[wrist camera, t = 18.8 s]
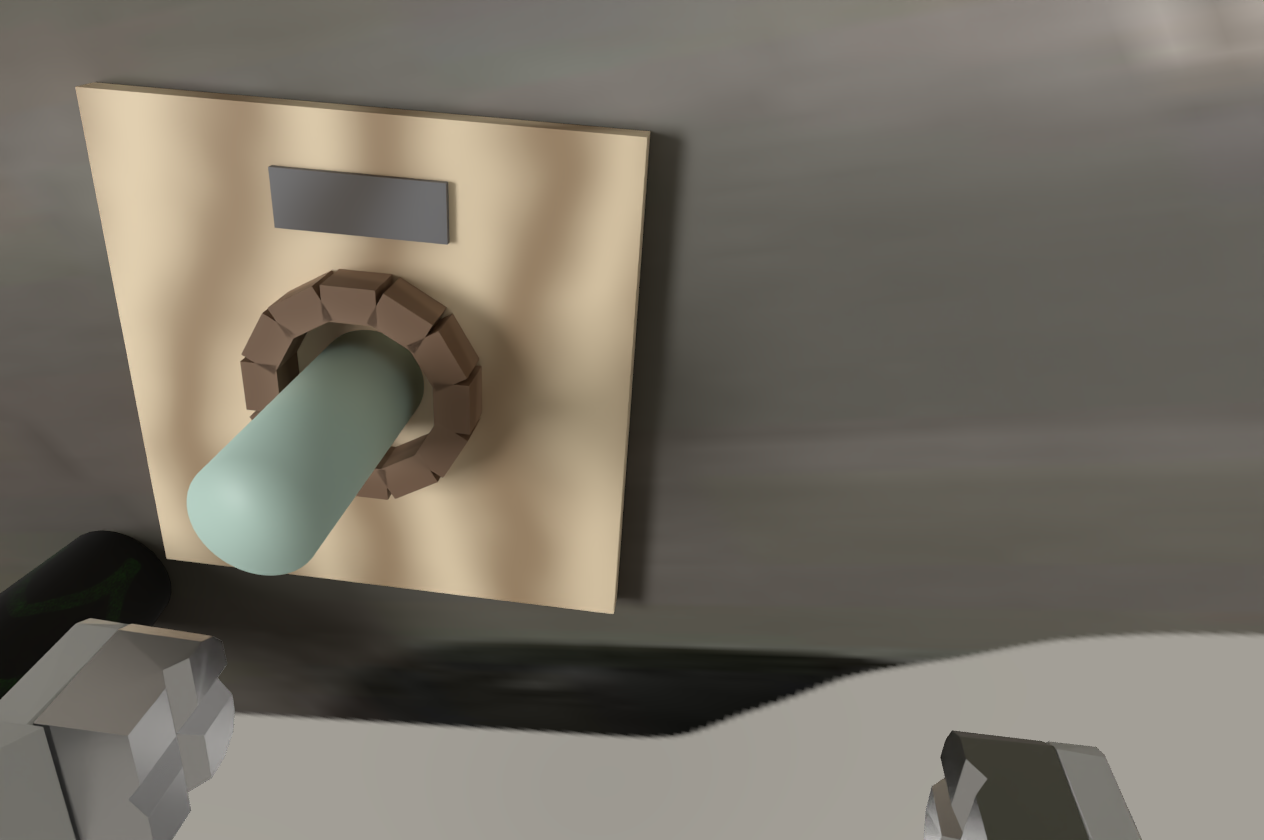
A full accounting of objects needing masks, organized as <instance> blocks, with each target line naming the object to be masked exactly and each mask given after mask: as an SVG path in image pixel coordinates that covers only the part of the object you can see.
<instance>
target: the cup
mask: <svg viewBox="0 0 1264 840" xmlns="http://www.w3.org/2000/svg"><path fill="white" fill-rule="evenodd" d="M170 595H171V583H170V580H169V576H168V573H167V571H166V570H165V568H164V566H163V564H162V563H161V561H160V560H159V559H158V558H157V557H156V556H155V555H154V554H153V552H152V551H150V550H149V549H148V548H146V547H145V546H144V545H143V544H141V543H139V542H138V541H136V540H134V539H132V538H130V537H128V536H125V535H122V534H119V533H116V532H108V531H95V532H89V533H86V534H84V535H81V536H79V537H78V538H77V539H75V540H74V541H72V542H71V543H70V544H68V545H67V546H66V547H64V548H63V549H61V550H60V551H59V552H57V553H56V554H54V555H53V556H52V557H50V558H49V559H47V560H46V561H45V562H43V563H42V564H41V565H39V566H38V567H36V568H35V569H34V570H32V571H31V572H29V573H28V574H27V575H25V576H24V577H23V578H21V579H20V580H18V581H17V582H16V583H14V584H13V585H11V586H10V587H9V588H7V589H6V590H4V591H3V592H2V593H0V700H1V698H2V697H3V696H4V695H5V694H6V693H7V692H8V691H9V690H10V689H11V688H12V687H13V686H14V685H15V684H16V683H17V682H18V681H19V680H20V679H21V678H22V677H23V676H24V675H25V674H26V673H27V672H28V671H29V670H30V669H31V668H32V667H33V666H34V665H35V664H36V663H37V662H38V661H39V660H40V659H41V658H42V657H43V656H44V655H45V654H46V653H47V652H48V651H49V650H50V649H51V648H52V647H53V646H54V645H55V644H56V643H57V642H58V641H59V640H60V639H61V638H62V637H63V636H64V635H65V634H66V633H67V632H68V631H69V630H70V629H71V628H72V627H73V626H74V625H75V624H76V623H79V622H81V621H84V620H86V619H89V618H93V619H99V620H105V621H111V622H117V623H123V624H129V625H130V624H137V625H144V626H150V627H152V626H153V624H154V623H155V621H156V620H157V618H158V617H159V615H160V614H161V613H162V611H163V610H164V608H165V607H166V605H167V604H168V602H169V599H170Z"/></svg>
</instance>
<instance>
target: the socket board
mask: <svg viewBox="0 0 1264 840" xmlns="http://www.w3.org/2000/svg"><path fill="white" fill-rule="evenodd" d="M75 88H76V93H77V98H78V103H79V109H80V114H81V119H82V124H83V129H84V134H85V140H86V145H87V150H88V155H89V160H90V165H91V171H92V176H93V181H94V186H95V191H96V197H97V202H98V207H99V212H100V217H101V222H102V228H103V233H104V238H105V243H106V248H107V253H108V259H109V264H110V269H111V274H112V279H113V284H114V290H115V295H116V300H117V305H118V310H119V315H120V321H121V326H122V331H123V336H124V341H125V347H126V352H127V357H128V362H129V367H130V372H131V378H132V383H133V388H134V393H135V398H136V403H137V409H138V414H139V419H140V424H141V429H142V434H143V440H144V445H145V450H146V455H147V460H148V465H149V471H150V476H151V481H152V486H153V491H154V497H155V502H156V507H157V512H158V517H159V522H160V528H161V533H162V538H163V543H164V548H165V553H166V559H172V560H180V561H189V562H197V563H205V564H213V565H221V566H229V567H234V566H232V565H230V564H228V563H226V562H225V561H223V560H222V559H220V558H219V557H217V556H216V555H215V554H214V553H213V552H211V551H210V550H209V549H208V548H207V547H206V546H205V544H204V543H203V542H202V541H201V540H200V538H199V537H198V535H197V534H196V532H195V530H194V529H193V526H192V524H191V522H190V519H189V516H188V511H187V493H188V489H189V486H190V484H191V482H192V480H193V479H194V477H195V476H196V475H197V474H198V472H199V471H201V470H202V469H203V468H204V467H205V466H206V465H207V464H208V463H209V462H210V461H211V460H212V459H213V458H214V457H215V456H216V455H217V454H218V453H219V452H220V451H221V450H222V449H223V448H224V447H225V446H226V445H227V444H228V443H229V442H230V441H231V440H232V439H233V438H234V437H235V436H236V435H237V434H238V433H239V432H240V431H241V430H243V429H244V428H245V427H246V426H247V425H248V424H249V423H250V422H251V421H252V420H253V419H254V418H255V417H256V416H257V415H258V414H259V413H260V412H261V411H262V410H263V409H264V408H265V407H266V406H267V405H268V404H269V403H270V402H271V401H272V400H273V399H274V398H275V397H276V396H277V395H278V394H279V393H280V392H281V391H282V390H283V389H285V388H286V387H287V386H288V385H289V384H290V383H291V382H292V381H293V380H294V379H295V378H296V377H297V376H298V375H299V374H300V373H301V372H302V371H303V370H304V369H305V368H306V367H307V366H308V365H309V364H310V363H311V362H312V361H313V360H314V359H315V358H316V357H317V356H318V355H319V354H320V353H321V352H322V351H323V350H324V349H325V348H327V347H328V346H329V345H330V344H331V343H332V342H333V341H334V340H335V339H336V338H338V337H339V336H341V335H343V334H345V333H347V332H351V331H355V330H372V331H377V332H381V333H383V334H384V335H386V336H388V337H389V338H391V339H392V340H394V341H395V342H397V343H399V344H400V345H402V346H403V347H405V348H406V349H408V350H409V351H410V352H411V353H412V355H413V356H414V358H415V360H416V361H417V363H418V365H419V367H420V369H421V372H422V375H423V380H424V392H423V397H422V400H421V403H420V405H419V407H418V408H417V410H416V411H415V412H414V414H413V415H412V417H411V418H410V420H409V421H408V422H407V424H406V425H405V427H404V428H403V430H402V431H401V432H400V434H399V435H398V437H397V438H396V439H395V441H394V442H393V444H392V445H391V447H390V448H389V449H388V451H387V452H386V454H385V455H384V457H383V458H382V459H381V461H380V462H379V464H378V465H377V467H376V468H375V469H374V471H373V472H372V474H371V475H370V476H369V478H368V479H367V481H366V482H365V484H364V485H363V486H362V488H361V489H360V491H359V492H358V494H357V495H356V496H355V498H354V499H353V501H352V502H351V503H350V505H349V506H348V508H347V509H346V511H345V512H344V513H343V515H342V516H341V518H340V519H339V521H338V522H337V523H336V525H335V526H334V528H333V529H332V530H331V532H330V533H329V535H328V536H327V538H326V539H325V540H324V542H323V543H322V545H321V546H320V548H319V549H318V550H317V552H316V553H315V555H314V556H313V558H312V559H311V560H310V561H309V562H308V563H307V564H305V565H304V566H303V567H301V568H299V569H298V570H296V571H293V572H290V573H287V574H294V575H302V576H310V577H318V578H326V579H334V580H342V581H350V582H358V583H367V584H375V585H383V586H391V587H399V588H407V589H415V590H423V591H431V592H439V593H447V594H456V595H464V596H472V597H480V598H488V599H496V600H504V601H512V602H520V603H528V604H536V605H545V606H553V607H561V608H569V609H577V610H585V611H593V612H601V613H609V614H614V610H615V605H616V600H617V590H618V576H619V562H620V548H621V534H622V520H623V506H624V492H625V478H626V464H627V450H628V436H629V422H630V408H631V394H632V380H633V366H634V353H635V339H636V325H637V311H638V297H639V283H640V269H641V255H642V241H643V227H644V213H645V199H646V185H647V171H648V157H649V143H650V131H641V130H630V129H618V128H607V127H596V126H584V125H573V124H562V123H550V122H539V121H527V120H516V119H505V118H493V117H482V116H471V115H459V114H448V113H437V112H425V111H414V110H403V109H391V108H380V107H369V106H357V105H346V104H334V103H323V102H312V101H300V100H289V99H278V98H266V97H255V96H244V95H232V94H221V93H210V92H198V91H187V90H176V89H164V88H153V87H141V86H130V85H119V84H107V83H96V82H94V83H89V84H85V85H81V86H76V87H75Z"/></svg>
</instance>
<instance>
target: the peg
mask: <svg viewBox="0 0 1264 840" xmlns="http://www.w3.org/2000/svg"><path fill="white" fill-rule="evenodd" d="M423 392H424V380H423V375H422V372H421V369H420V367H419V365H418V363H417V361H416V360H415V358H414V356H413V355H412V353H411V352H410V351H409V350H408V349H406V348H405V347H403V346H402V345H400V344H399V343H397V342H395V341H394V340H392V339H391V338H389V337H388V336H386V335H384V334H383V333H381V332H377V331H372V330H355V331H351V332H347V333H345V334H343V335H341V336H339V337H338V338H336V339H335V340H334V341H333V342H332V343H331V344H330V345H329V346H328V347H327V348H325V349H324V350H323V351H322V352H321V353H320V354H319V355H318V356H317V357H316V358H315V359H314V360H313V361H312V362H311V363H310V364H309V365H308V366H307V367H306V368H305V369H304V370H303V371H302V372H301V373H300V374H299V375H298V376H297V377H296V378H295V379H294V380H293V381H292V382H291V383H290V384H289V385H288V386H287V387H286V388H285V389H283V390H282V391H281V392H280V393H279V394H278V395H277V396H276V397H275V398H274V399H273V400H272V401H271V402H270V403H269V404H268V405H267V406H266V407H265V408H264V409H263V410H262V411H261V412H260V413H259V414H258V415H257V416H256V417H255V418H254V419H253V420H252V421H251V422H250V423H249V424H248V425H247V426H246V427H245V428H244V429H243V430H241V431H240V432H239V433H238V434H237V435H236V436H235V437H234V438H233V439H232V440H231V441H230V442H229V443H228V444H227V445H226V446H225V447H224V448H223V449H222V450H221V451H220V452H219V453H218V454H217V455H216V456H215V457H214V458H213V459H212V460H211V461H210V462H209V463H208V464H207V465H206V466H205V467H204V468H203V469H202V470H201V471H199V472H198V474H197V475H196V476H195V477H194V479H193V480H192V482H191V484H190V486H189V489H188V493H187V511H188V516H189V519H190V522H191V524H192V526H193V529H194V530H195V532H196V534H197V535H198V537H199V538H200V540H201V541H202V542H203V543H204V544H205V546H206V547H207V548H208V549H209V550H210V551H211V552H213V553H214V554H215V555H216V556H217V557H219V558H220V559H222V560H223V561H225V562H226V563H228V564H230V565H232V566H234V567H236V568H238V569H240V570H243V571H246V572H249V573H254V574H259V575H272V576H273V575H282V574H287V573H290V572H293V571H296V570H298V569H299V568H301V567H303V566H304V565H305V564H307V563H308V562H309V561H310V560H311V559H312V558H313V556H314V555H315V553H316V552H317V550H318V549H319V548H320V546H321V545H322V543H323V542H324V540H325V539H326V538H327V536H328V535H329V533H330V532H331V530H332V529H333V528H334V526H335V525H336V523H337V522H338V521H339V519H340V518H341V516H342V515H343V513H344V512H345V511H346V509H347V508H348V506H349V505H350V503H351V502H352V501H353V499H354V498H355V496H356V495H357V494H358V492H359V491H360V489H361V488H362V486H363V485H364V484H365V482H366V481H367V479H368V478H369V476H370V475H371V474H372V472H373V471H374V469H375V468H376V467H377V465H378V464H379V462H380V461H381V459H382V458H383V457H384V455H385V454H386V452H387V451H388V449H389V448H390V447H391V445H392V444H393V442H394V441H395V439H396V438H397V437H398V435H399V434H400V432H401V431H402V430H403V428H404V427H405V425H406V424H407V422H408V421H409V420H410V418H411V417H412V415H413V414H414V412H415V411H416V410H417V408H418V407H419V405H420V403H421V400H422V397H423Z"/></svg>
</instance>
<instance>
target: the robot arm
mask: <svg viewBox="0 0 1264 840" xmlns="http://www.w3.org/2000/svg"><path fill="white" fill-rule="evenodd" d="M226 665H227V661H226V656H225V652H224V647H223V642H222V641H221V640H219V639H217V638H215V637H213V636H209V635H202V634H196V633H189V632H183V631H176V630H170V629H163V628H157V627H150V626H144V625H137V624H130V625H129V624H123V623H117V622H111V621H105V620H99V619H93V618H89V619H86V620H84V621H81V622H79V623H76V624H75V625H74V626H73V627H72V628H71V629H70V630H69V631H68V632H67V633H66V634H65V635H64V636H63V637H62V638H61V639H60V640H59V641H58V642H57V643H56V644H55V645H54V646H53V647H52V648H51V649H50V650H49V651H48V652H47V653H46V654H45V655H44V656H43V657H42V658H41V659H40V660H39V661H38V662H37V663H36V664H35V665H34V666H33V667H32V668H31V669H30V670H29V671H28V672H27V673H26V674H25V675H24V676H23V677H22V678H21V679H20V680H19V681H18V682H17V683H16V684H15V685H14V686H13V687H12V688H11V689H10V690H9V691H8V692H7V693H6V694H5V695H4V696H3V697H2V698H1V700H0V840H172V839H173V838H174V836H175V835H176V833H177V831H178V830H179V828H180V827H181V825H182V823H183V822H184V821H185V819H186V818H187V816H188V814H189V813H190V811H191V807H190V802H189V796H188V792H189V791H191V790H193V789H194V788H196V787H198V786H199V785H201V784H202V783H204V782H206V781H207V780H209V779H211V778H212V777H213V775H214V773H215V772H216V770H217V769H218V767H219V765H220V764H221V762H222V760H223V759H224V757H225V754H226V751H227V748H228V745H229V742H230V739H231V736H232V733H233V727H234V714H235V709H234V703H233V696H232V693H231V692H230V691H229V690H228V689H227V688H226V687H225V686H224V685H223V683H222V682H221V681H220V680H219V679H218V676H219V675H220V673H221V672H222V671H223V669H224V668H225V666H226ZM941 761H942V766H943V770H944V774H945V778H944V779H942V780H941V781H939V782H938V783H936V784H935V785H934V786H932V788H931V792H930V796H929V800H928V804H927V808H926V817H925V830H924V840H1142V839H1141V836H1140V834H1139V832H1138V830H1137V827H1136V825H1135V823H1134V821H1133V818H1132V816H1131V814H1130V811H1129V809H1128V807H1127V805H1126V803H1125V800H1124V798H1123V796H1122V793H1121V791H1120V789H1119V787H1118V784H1117V782H1116V780H1115V778H1114V776H1113V773H1112V771H1111V768H1110V766H1109V764H1108V762H1107V759H1106V757H1105V755H1104V754H1103V753H1102V752H1101V751H1100V750H1099V749H1098V748H1097V747H1092V746H1083V745H1074V744H1064V743H1056V742H1047V743H1045V742H1042V741H1035V740H1027V739H1018V738H1010V737H1002V736H993V735H985V734H976V733H968V732H960V731H951V733H950V734H949V736H948V737H947V739H946V741H945V744H944V747H943V750H942V754H941Z"/></svg>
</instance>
